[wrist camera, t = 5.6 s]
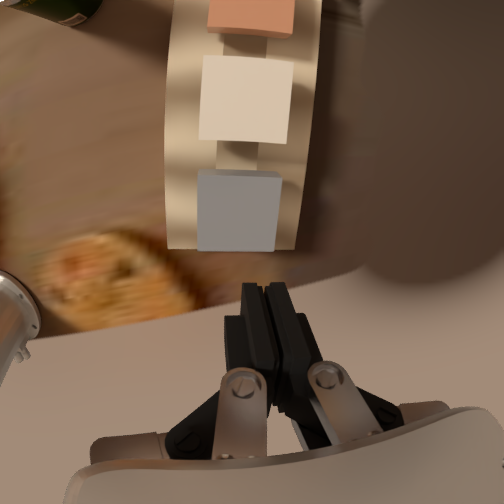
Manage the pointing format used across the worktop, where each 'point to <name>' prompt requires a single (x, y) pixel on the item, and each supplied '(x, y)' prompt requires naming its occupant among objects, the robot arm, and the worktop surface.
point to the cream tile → (245, 99)
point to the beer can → (58, 9)
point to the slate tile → (237, 209)
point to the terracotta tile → (252, 17)
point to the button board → (234, 152)
